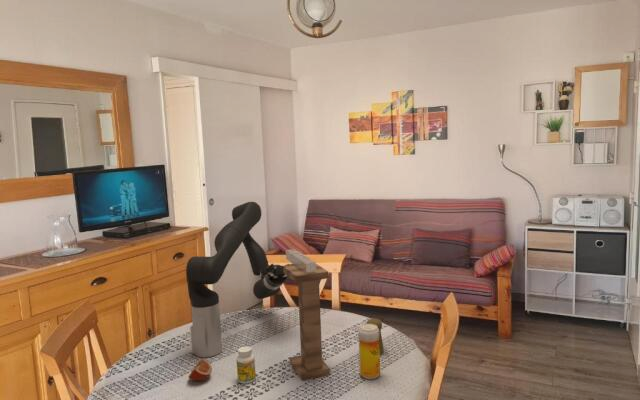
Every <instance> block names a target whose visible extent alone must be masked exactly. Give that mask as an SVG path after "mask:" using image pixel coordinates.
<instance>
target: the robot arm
mask: <svg viewBox="0 0 640 400" xmlns="http://www.w3.org/2000/svg"><path fill="white" fill-rule="evenodd" d="M231 216H232V220H231V221H229V222H228V223H227V224H225V225H224V226H223V227H222V228H221V229H220V230H219V231H218V232H217V234H216V236H215V237H214V241H213V243H214V249H215V251H216V253H215V254H214V255H213V256H197V255H196V256H192V257H190V258H189V259H188V260H187V263H186V267H185V268H186V269H185V275H186V284H187V290H188V297H189V300H190V307H191V319H192V320H191V321H192V325H190V328H189V329H190V341H191V343H190V344H191V354H193V355H195V356H196V357H199V358H210V357H215V356H217V355H218V354H220V353H221V352H222V351H223V342H222V328H221V327H222V325H221V313H220V312H221V311H220V309H221V308H220V300H219V299H220V297H219V294H218V293H217V292H216V291H214V290H212V289H210V288H209V287H207V285H215V284H217V283H218V282H219V281H220V280H221V278H222V276H223V274H224V272H225V270H226V268H227V266H228V264H229V262H230V261H231V260H232V259H231V258H233V256H234V254H235V253H236V251H238V249H240V248H239V247H240V246H241V245H242V244H243V246H244V248H245V251H246V253H247V257H248V260H249V263H250V267H251V272H252V274H253V275H254V276H255V277H257V276H260V279H259V280H257V281H256V282H255V283H254V285H253V288H252V291H253V295H254V297H255V298H257V299H258V300H264V299H267V298H270V297H273V296H277V295H279V293H280V289H281V287H282V285H284V283H285V282H286V281H287V278H288V276H287V275H286V274H285V273H284V272H283V266H286V265H294V264H292V263H291V264H290V263H287V264H285V265H280V264H274V263H270V264H269V260H268V258H267V253H266V251H265V250H264V248H263V247H262V246H261V245H260V244H259V243H258V242H257V241H256V240H255V239H254V237H252V236H251V233H250V231H251V230H252V229H253V228H254V227H255V226H256V225H257V224H258V223H259V221H260V220H261V218H262V208H261V206H260V205H259V204H258V202H256V201H248V202H245V203H243V204H239V205H237V206H235V207H234V208H233V209H232V211H231Z"/></svg>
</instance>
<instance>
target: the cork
mask: <svg viewBox="0 0 640 400" xmlns="http://www.w3.org/2000/svg"><path fill="white" fill-rule="evenodd" d="M365 324H374V325H377V327H378V329H379V345H380V356H381V355H383V354H384V353H385V350H384V344H383V343H384V342H383V337H382V332H381V330H382V329H383V328H382V327H383V323H382V320H380V319H379V318H370V319H368V320H367V321H366V323H365Z"/></svg>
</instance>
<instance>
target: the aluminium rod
mask: <svg viewBox="0 0 640 400" xmlns="http://www.w3.org/2000/svg"><path fill="white" fill-rule="evenodd" d="M285 259H286V260H287V261H288V262H290V263H291V264H294V265H295V266H296V267H298V268H299V269H301V270H302V271H303V272H305V273H306V274H308V273H315V272H316V264H317V263H316V261H314V260H313V259H311V258H310V257H308V256H306V255H304V254H303V253H302V252H300V251H298V250H296V248H295V249H294V248H292V249H285Z"/></svg>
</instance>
